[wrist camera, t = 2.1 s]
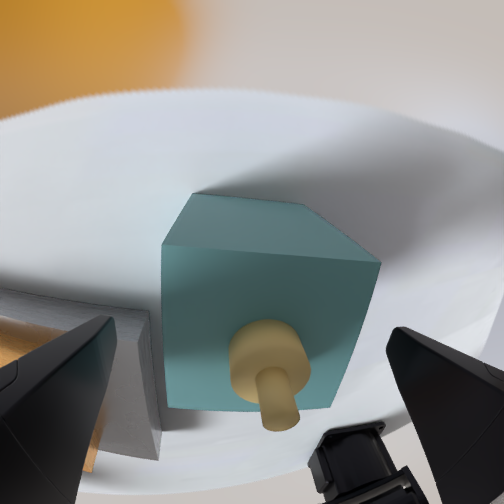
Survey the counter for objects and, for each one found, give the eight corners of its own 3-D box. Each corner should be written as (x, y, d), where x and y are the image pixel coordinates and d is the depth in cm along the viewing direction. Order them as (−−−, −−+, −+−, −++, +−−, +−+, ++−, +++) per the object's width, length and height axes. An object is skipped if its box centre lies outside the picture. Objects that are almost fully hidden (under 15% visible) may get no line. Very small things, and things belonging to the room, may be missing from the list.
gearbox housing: (148, 311, 16) (123, 384, 10) (161, 431, 20) (155, 492, 14) (-54, 274, 13) (-96, 307, 8) (-13, 384, 17) (-38, 422, 12)
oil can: (303, 204, 15) (438, 310, 5) (286, 301, 17) (352, 463, 7) (192, 193, 14) (131, 298, 4) (186, 295, 16) (160, 471, 6)
